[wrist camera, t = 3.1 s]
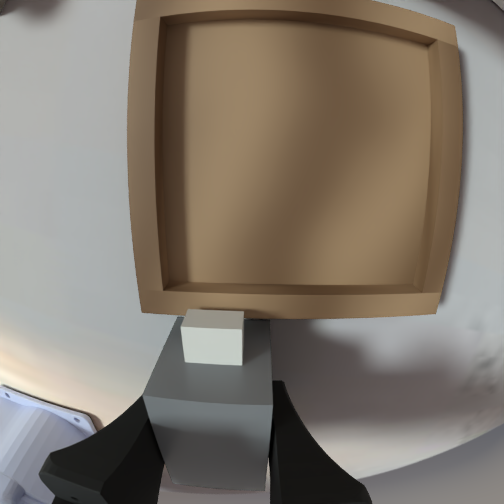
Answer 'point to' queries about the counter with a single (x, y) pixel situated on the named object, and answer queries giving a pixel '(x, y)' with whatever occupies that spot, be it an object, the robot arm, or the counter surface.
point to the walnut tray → (292, 157)
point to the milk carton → (500, 3)
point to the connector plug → (214, 400)
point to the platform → (2, 4)
